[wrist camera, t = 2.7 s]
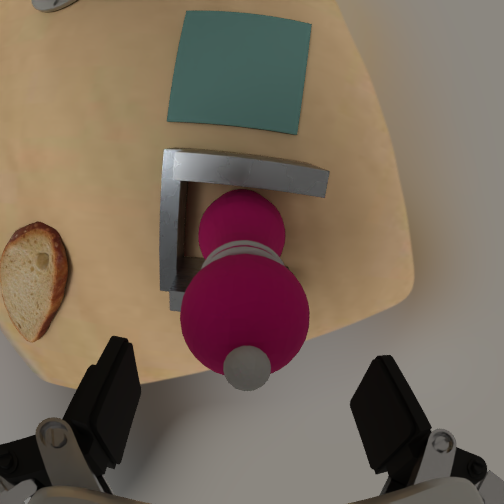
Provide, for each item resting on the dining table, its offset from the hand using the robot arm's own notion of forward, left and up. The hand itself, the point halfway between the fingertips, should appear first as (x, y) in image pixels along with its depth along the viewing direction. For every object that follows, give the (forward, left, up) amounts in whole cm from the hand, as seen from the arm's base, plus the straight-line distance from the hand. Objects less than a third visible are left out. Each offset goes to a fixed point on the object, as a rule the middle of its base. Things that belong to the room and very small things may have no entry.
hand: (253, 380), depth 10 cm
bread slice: (+12, -28, -20) cm, 36 cm away
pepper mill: (0, 0, -20) cm, 20 cm away
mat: (-15, -2, -19) cm, 25 cm away
